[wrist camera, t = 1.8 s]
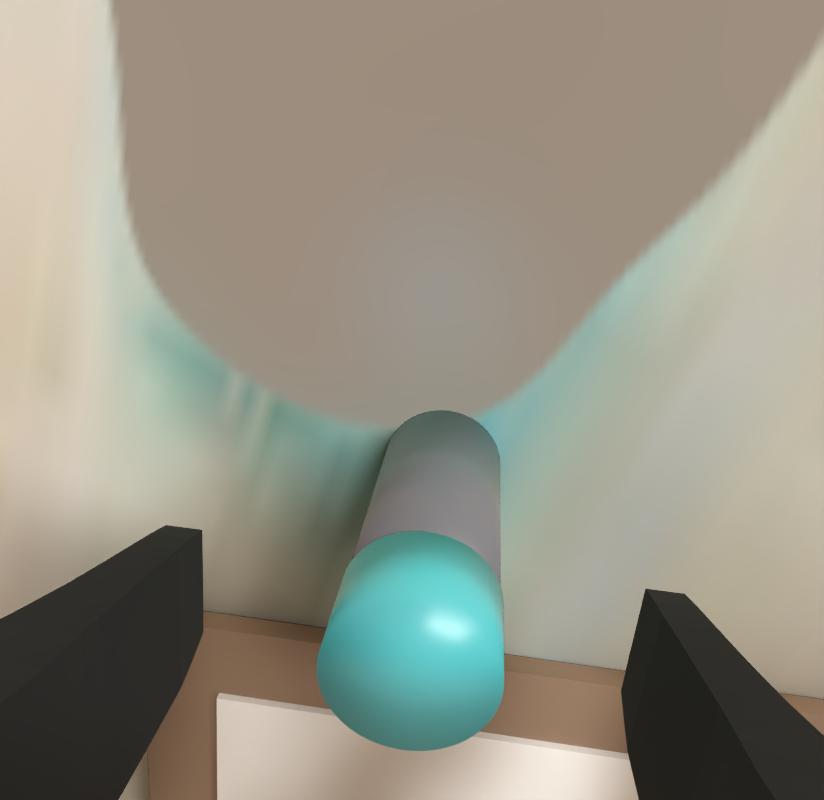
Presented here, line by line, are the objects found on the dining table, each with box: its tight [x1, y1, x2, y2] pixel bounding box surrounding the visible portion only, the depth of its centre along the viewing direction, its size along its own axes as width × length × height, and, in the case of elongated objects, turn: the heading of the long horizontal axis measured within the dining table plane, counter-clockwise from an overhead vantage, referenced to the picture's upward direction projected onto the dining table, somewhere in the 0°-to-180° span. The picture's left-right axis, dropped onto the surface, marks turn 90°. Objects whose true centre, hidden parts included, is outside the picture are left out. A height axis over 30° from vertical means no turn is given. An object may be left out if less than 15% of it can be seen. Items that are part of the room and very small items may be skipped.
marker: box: [317, 410, 504, 751], centre depth 14 cm, size 3×3×7 cm
